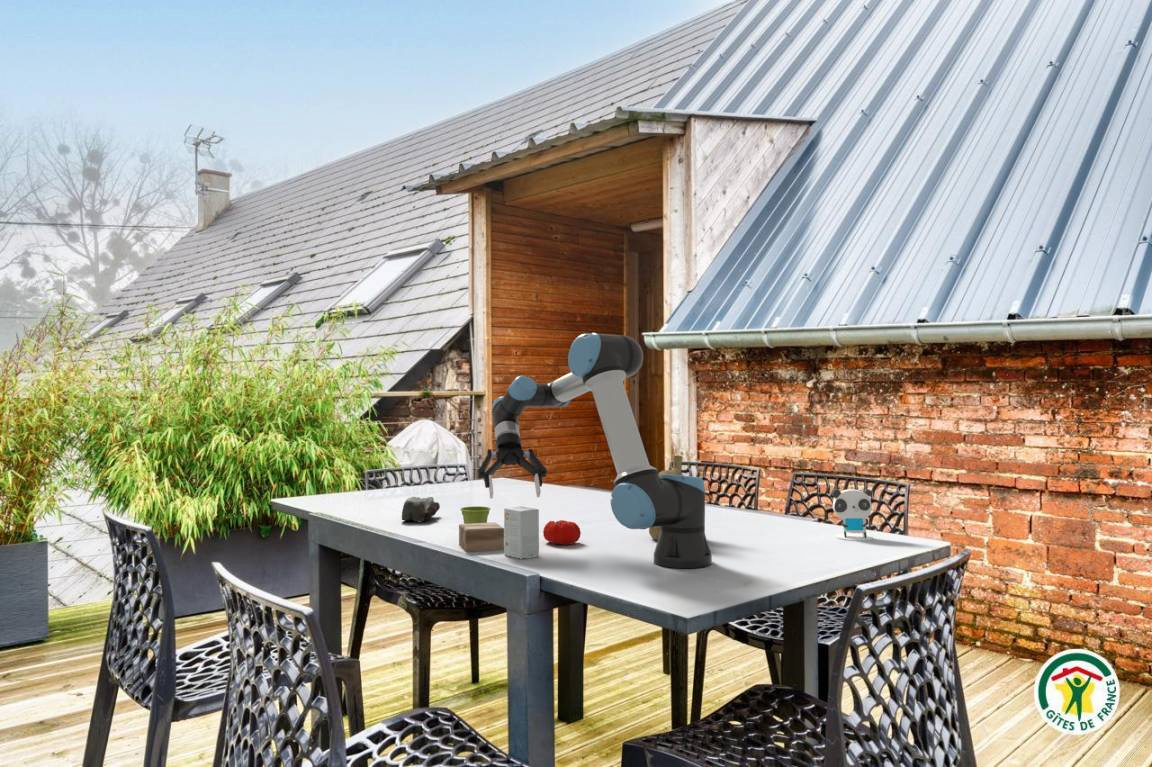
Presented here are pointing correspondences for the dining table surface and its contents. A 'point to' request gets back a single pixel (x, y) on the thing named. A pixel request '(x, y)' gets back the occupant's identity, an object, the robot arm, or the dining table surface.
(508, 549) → the small box
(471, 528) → the walnut block
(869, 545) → the dining table surface
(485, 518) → the plant pot
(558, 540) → the tomato
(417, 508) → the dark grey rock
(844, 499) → the panda figurine
